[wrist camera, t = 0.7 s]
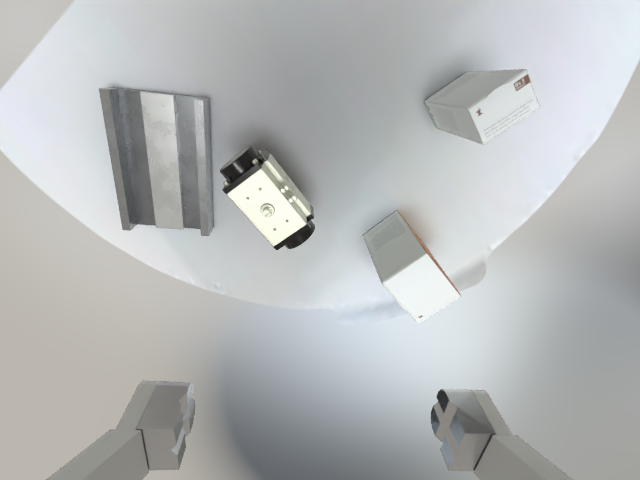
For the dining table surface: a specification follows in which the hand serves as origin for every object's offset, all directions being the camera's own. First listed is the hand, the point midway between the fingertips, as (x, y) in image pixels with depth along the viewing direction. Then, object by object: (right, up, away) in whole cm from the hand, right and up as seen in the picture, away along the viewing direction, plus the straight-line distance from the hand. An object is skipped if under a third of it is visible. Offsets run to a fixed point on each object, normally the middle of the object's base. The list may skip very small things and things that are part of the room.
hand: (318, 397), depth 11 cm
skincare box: (+16, +23, +31) cm, 42 cm away
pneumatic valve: (-6, +14, +34) cm, 37 cm away
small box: (+11, +5, +40) cm, 42 cm away
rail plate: (-20, +15, +32) cm, 41 cm away
